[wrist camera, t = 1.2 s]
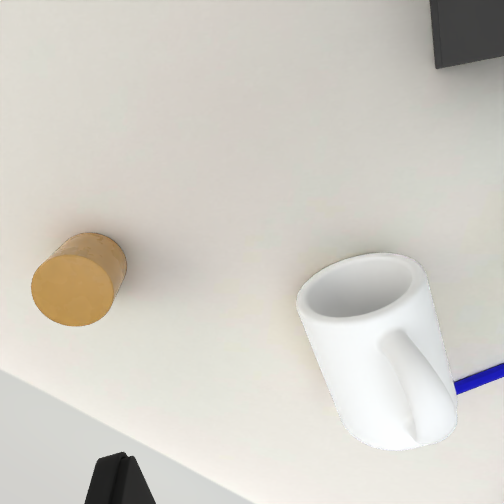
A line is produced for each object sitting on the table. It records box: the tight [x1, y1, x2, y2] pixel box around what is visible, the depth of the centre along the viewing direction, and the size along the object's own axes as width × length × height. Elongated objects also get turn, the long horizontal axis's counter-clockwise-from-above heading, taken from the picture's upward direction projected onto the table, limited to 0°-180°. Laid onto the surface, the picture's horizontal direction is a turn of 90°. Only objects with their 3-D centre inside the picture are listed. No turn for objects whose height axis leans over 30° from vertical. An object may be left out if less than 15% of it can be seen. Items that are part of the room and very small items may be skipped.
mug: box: [296, 253, 458, 451], centre depth 25 cm, size 8×10×12 cm
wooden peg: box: [31, 233, 127, 326], centre depth 25 cm, size 4×4×4 cm
